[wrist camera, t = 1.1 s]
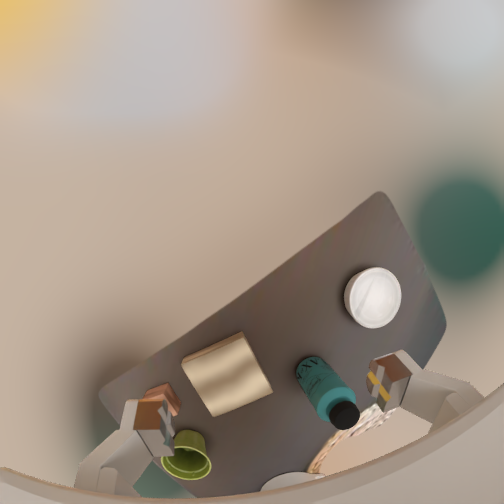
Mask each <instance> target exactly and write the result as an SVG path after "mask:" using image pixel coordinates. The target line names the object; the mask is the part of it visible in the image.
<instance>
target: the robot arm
mask: <svg viewBox="0 0 504 504" xmlns="http://www.w3.org/2000/svg"><path fill="white" fill-rule="evenodd" d="M369 369H370V370H371V371H370V372H369V374H368V375H367V379H366V384H367V388H368V391H369V393H370V394H371V395H372V396H374V397H376V398H377V400H376V403H377V404H378V406H379V407H380V409H381V410H382V412H383V413H384V412H386V411H389V410H392V409H394V408H397V407H399V406H400V407H401V408H403V409H405V410H407V411H409V412H411V413H413V414H415V415H416V416H418V417H421V418H423V419H425V420H426V421H429V422H431V423H432V426H431V428H430V430H429V432H428V434H427V435H425V436H423V437H422V438H420V439H418V440H416V441H414V442H412V443H410V444H408V445H406V446H404V447H401V448H399V449H397V450H395V451H393V452H391V453H388V454H386V455H384V456H381V457H379V458H377V459H374V460H372V461H369V462H367V463H364V464H362V465H359V466H357V467H353V468H350V469H348V470H345V471H342V472H339V473H335V474H332V475H329V476H325V474H309V473H305V472H292V473H286V474H282V475H279V476H277V477H275V478H273V479H271V480H269V481H268V482H267V483H266V484H264V486H263V487H262V488H261V491H260V492H255V493H248V494H240V495H232V496H222V497H209V498H185V499H166V498H143V497H142V496H141V495H139V494H138V493H137V491H135V489H133V487H132V486H133V485H134V484H135V483H136V481H137V480H138V478H139V477H140V476H141V474H142V473H143V472H144V470H145V469H146V468H147V466H148V465H149V463H150V462H151V461H152V459H153V457H163V456H174V449H175V442H174V440H173V439H172V437H173V436H174V435H175V423H174V419H173V416H172V413H171V412H170V411H168V404H167V402H166V399H128V400H127V401H126V403H125V408H124V412H123V416H122V420H121V425H120V430H115V431H114V432H113V433H112V434H111V435H110V436H109V437H108V438H107V439H106V440H105V441H103V442H102V443H101V444H100V445H99V446H98V447H97V448H96V449H95V450H94V451H92V452H91V453H90V454H89V455H88V456H87V457H86V458H85V459H84V460H82V461H81V462H80V464H79V468H78V472H77V476H76V480H75V484H74V488H72V487H68V486H64V485H60V484H56V483H52V482H48V481H45V480H41V479H38V478H35V477H32V476H29V475H25V474H23V473H20V472H17V471H14V470H12V469H9V468H6V467H1V468H0V504H504V383H503V384H502V385H501V386H500V387H498V388H497V389H496V390H494V391H493V392H492V393H490V394H489V395H488V396H486V397H485V398H484V397H483V396H482V395H481V394H480V393H479V392H478V391H477V390H476V389H475V388H474V387H473V386H472V385H471V384H470V383H469V382H466V381H463V380H459V379H456V378H452V377H449V376H446V375H442V374H439V373H436V372H433V371H429V370H426V369H425V370H422V369H421V368H420V367H419V366H418V365H417V364H416V362H415V361H414V360H413V359H412V358H411V357H410V356H409V355H408V354H407V353H406V352H405V351H404V350H399V351H396V352H394V353H391V354H388V355H385V356H382V357H379V358H376V359H373V360H371V362H370V364H369Z"/></svg>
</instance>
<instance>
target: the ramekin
mask: <svg viewBox="0 0 504 504" xmlns="http://www.w3.org/2000/svg"><path fill="white" fill-rule="evenodd" d="M344 302H345V307H346V309H347V311H348V312H349V313H350V315H351V316H352V317H353V318H354V320H355V321H356V322H357V323H358V324H360V325H362V326H364V327H367V328H379V327H382V326H384V325H386V324H387V323H389V322H390V321H391V320H392V319H393V318H394V316H395V315H396V313H397V311H398V309H399V306H400V302H401V289H400V285H399V283H398V281H397V279H396V277H395V276H394V275H393V274H392V273H391V272H390V271H388V270H386V269H384V268H379V267H373V268H369V269H366V270H364V271H362V272H360V273H358V274H356V275H355V276H353V277H352V278H351V279H350V281H349V282H348V284H347V286H346V289H345V293H344Z"/></svg>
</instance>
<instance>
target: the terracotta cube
mask: <svg viewBox="0 0 504 504" xmlns="http://www.w3.org/2000/svg"><path fill="white" fill-rule="evenodd" d="M143 399H166V402H167V404H168V411H170V412H171V413H172V416H176V415H178V412H179V409H180V405H181V402H180V400H179V399H178V397H177V396H176V394H175V392H174V391H173V389H172V388H171V386H170V384H169V383H166V384H163V385H160V386H158V387H155V388H152V389H150V390H147V392H146V394H145V395H144V397H143Z"/></svg>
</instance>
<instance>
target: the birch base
mask: <svg viewBox="0 0 504 504" xmlns="http://www.w3.org/2000/svg"><path fill="white" fill-rule="evenodd" d="M181 366H182V368H183V369H184V371H185V373H186V375H187V376H188V378H189V379H190V381H191V383H192V384H193V386H194V388H195V389H196V391H197V392H198V394H199V396H200V397H201V399H202V400H203V402H204V403H205V405H206V407H207V408H208V410H209V411H210V413H211V414H212V416H213V417H215V416H218V415H221V414H223V413H226V412H228V411H231V410H233V409H236V408H238V407H241V406H243V405H245V404H248V403H250V402H252V401H255V400H257V399H259V398H262V397H264V396H266V395H268V394H270V393H273V391H272V388H271V385H270V383H269V381H268V379H267V377H266V375H265V373H264V372H263V370H262V368H261V366H260V364H259V362H258V360H257V358H256V357H255V355H254V353H253V351H252V349H251V347H250V345H249V343H248V341H247V339H246V337H245V335H244V334H243V332H242V331H241V332H239V333H237V334H235V335H233V336H231V337H229V338H226V339H224V340H222V341H220V342H218V343H215V344H213V345H211V346H209V347H206V348H204V349H202V350H200V351H197V352H195V353H193V354H190V355H188V356H186V357H184V358H183V361H182V363H181Z"/></svg>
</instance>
